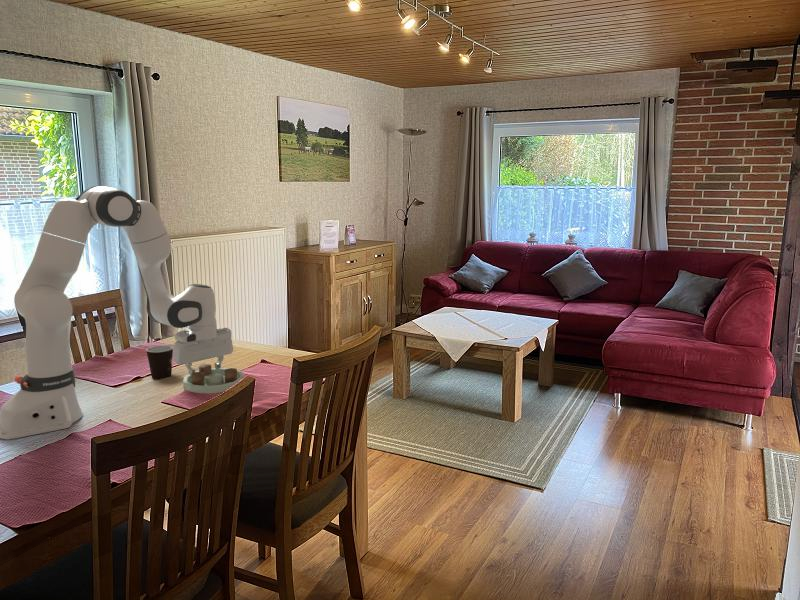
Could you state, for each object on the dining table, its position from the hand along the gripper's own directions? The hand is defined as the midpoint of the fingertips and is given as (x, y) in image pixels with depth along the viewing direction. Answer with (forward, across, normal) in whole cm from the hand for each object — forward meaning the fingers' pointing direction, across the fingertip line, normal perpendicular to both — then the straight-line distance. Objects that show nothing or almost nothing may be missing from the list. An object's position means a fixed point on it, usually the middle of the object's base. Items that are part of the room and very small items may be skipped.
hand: (205, 371), depth 212 cm
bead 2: (+3, 0, 0) cm, 3 cm away
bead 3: (+3, -4, +10) cm, 11 cm away
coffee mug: (+4, +7, -16) cm, 18 cm away
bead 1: (+3, +6, +6) cm, 8 cm away
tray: (+4, 0, +6) cm, 7 cm away
